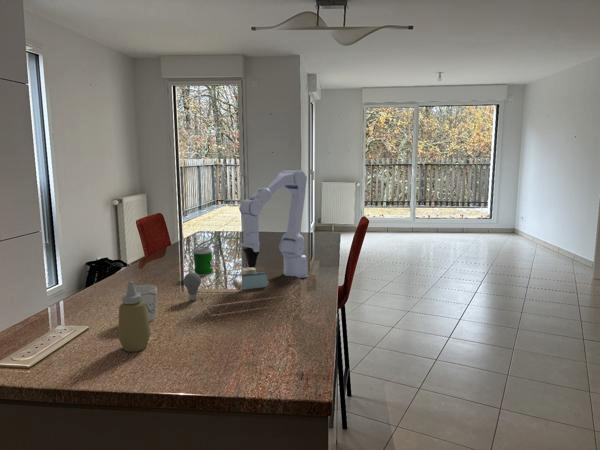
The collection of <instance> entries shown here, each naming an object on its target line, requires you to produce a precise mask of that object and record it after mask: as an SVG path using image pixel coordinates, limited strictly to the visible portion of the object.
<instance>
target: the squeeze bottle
mask: <svg viewBox="0 0 600 450" xmlns="http://www.w3.org/2000/svg"><path fill="white" fill-rule="evenodd" d="M135 286H136V285H135V282H134V281H132V280H131V281H128V282H127V290H126V293H125V294H124V295H122V298H121V301H122V303H121V304H120V305H119V306H118V326H117V327H118V328H117V330H118V333H117V338H118V340H119V343H120V344H121V346H122V349H123V350H124V351H126V352H129V353H130V352H131V353H134V352H139V351H142V350H145V349H146V347H148V344H149V341H150V336H151V327H150V322H149V320H148V315H147V309H146V303H144V302H143V301H141V300H142V299H141V294H140V293H137V292H136V289H135Z"/></svg>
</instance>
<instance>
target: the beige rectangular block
mask: <svg viewBox="0 0 600 450" xmlns="http://www.w3.org/2000/svg"><path fill="white" fill-rule="evenodd" d="M250 273H257V269H256V267H253V268H250V267H249V266H248V267H242V268H241V275H242V274H250Z"/></svg>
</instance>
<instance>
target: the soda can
mask: <svg viewBox="0 0 600 450" xmlns="http://www.w3.org/2000/svg"><path fill="white" fill-rule="evenodd" d="M193 264H194V265H193V266H194V273H197V274H198V275H199V276H200V277H204V276H210V275H212V274H213V273H214V267H213V265H214V264H213V250H212V248H211V247H210V246H209V247H208V246H201V247H200V246H199V247H196V248H195V249H194V250H193Z"/></svg>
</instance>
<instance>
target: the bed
mask: <svg viewBox="0 0 600 450" xmlns="http://www.w3.org/2000/svg"><path fill="white" fill-rule="evenodd" d="M232 283H233V284H234V285H235V286H236V287H237V289H239V290H243V289H242V280H241V281H238V280H237V279H236V278H232ZM268 286H270V282H269V280H267V287H268Z"/></svg>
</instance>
